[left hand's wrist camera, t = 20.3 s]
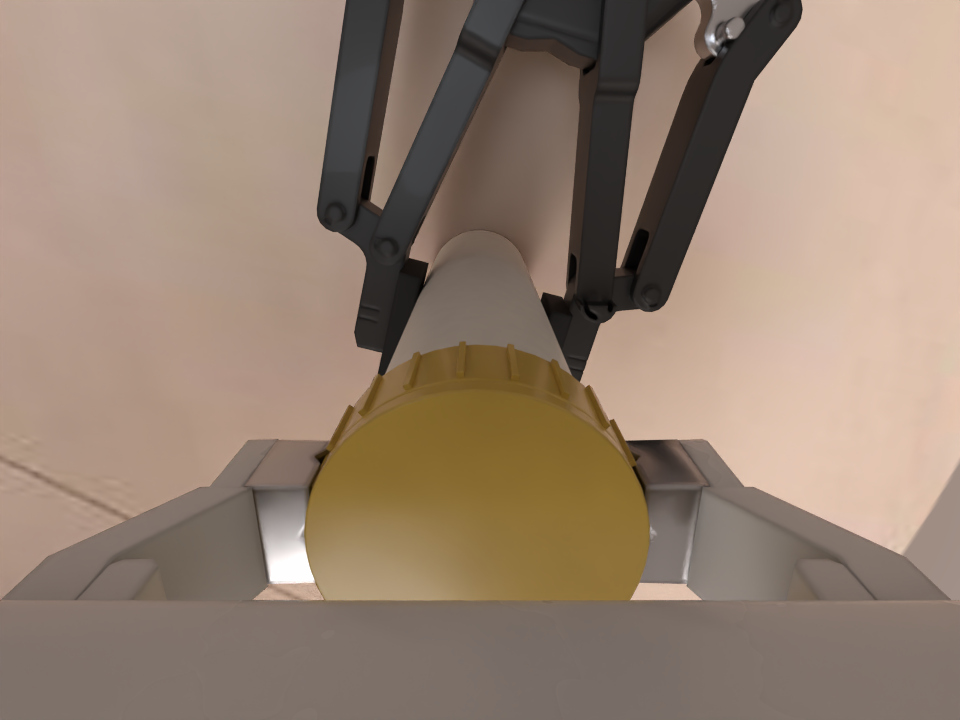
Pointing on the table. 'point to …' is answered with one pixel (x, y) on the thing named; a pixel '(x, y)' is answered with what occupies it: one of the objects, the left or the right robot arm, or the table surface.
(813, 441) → the table surface
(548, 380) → the lid
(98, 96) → the table surface
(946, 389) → the table surface
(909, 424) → the table surface
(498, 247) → the grey cylinder
